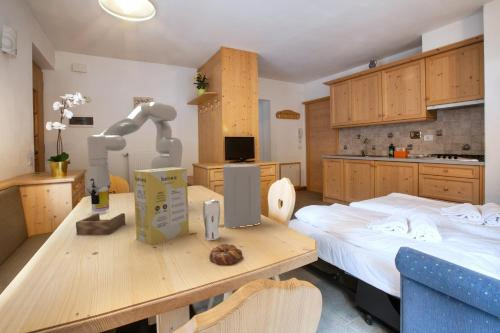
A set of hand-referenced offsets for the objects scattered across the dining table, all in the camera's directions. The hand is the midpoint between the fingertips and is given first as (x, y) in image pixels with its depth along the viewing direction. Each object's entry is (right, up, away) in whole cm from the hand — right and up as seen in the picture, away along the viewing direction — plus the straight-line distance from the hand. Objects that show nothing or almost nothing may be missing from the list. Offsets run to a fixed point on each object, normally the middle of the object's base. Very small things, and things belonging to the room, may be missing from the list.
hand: (100, 201), depth 115 cm
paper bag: (+61, -12, +7) cm, 63 cm away
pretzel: (+59, -15, -29) cm, 68 cm away
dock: (0, -13, +1) cm, 13 cm away
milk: (-18, -11, +30) cm, 36 cm away
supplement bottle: (0, -4, 0) cm, 4 cm away
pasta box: (+31, -13, -7) cm, 35 cm away
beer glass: (+52, -13, -11) cm, 55 cm away
